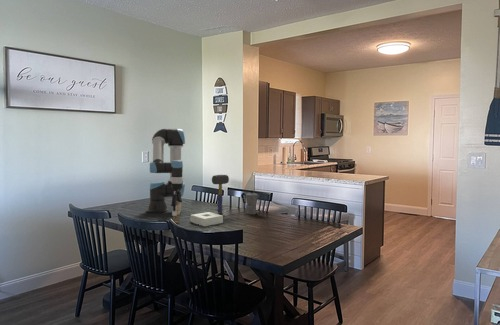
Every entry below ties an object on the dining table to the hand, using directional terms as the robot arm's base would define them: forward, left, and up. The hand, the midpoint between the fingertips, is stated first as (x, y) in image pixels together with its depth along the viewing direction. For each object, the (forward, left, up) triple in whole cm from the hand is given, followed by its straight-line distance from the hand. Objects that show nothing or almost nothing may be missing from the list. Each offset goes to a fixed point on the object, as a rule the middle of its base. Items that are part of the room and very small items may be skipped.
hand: (176, 213), depth 254 cm
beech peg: (0, 0, -6) cm, 6 cm away
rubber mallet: (-6, +43, -6) cm, 44 cm away
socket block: (+13, +16, -6) cm, 21 cm away
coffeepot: (+9, +61, -6) cm, 62 cm away
